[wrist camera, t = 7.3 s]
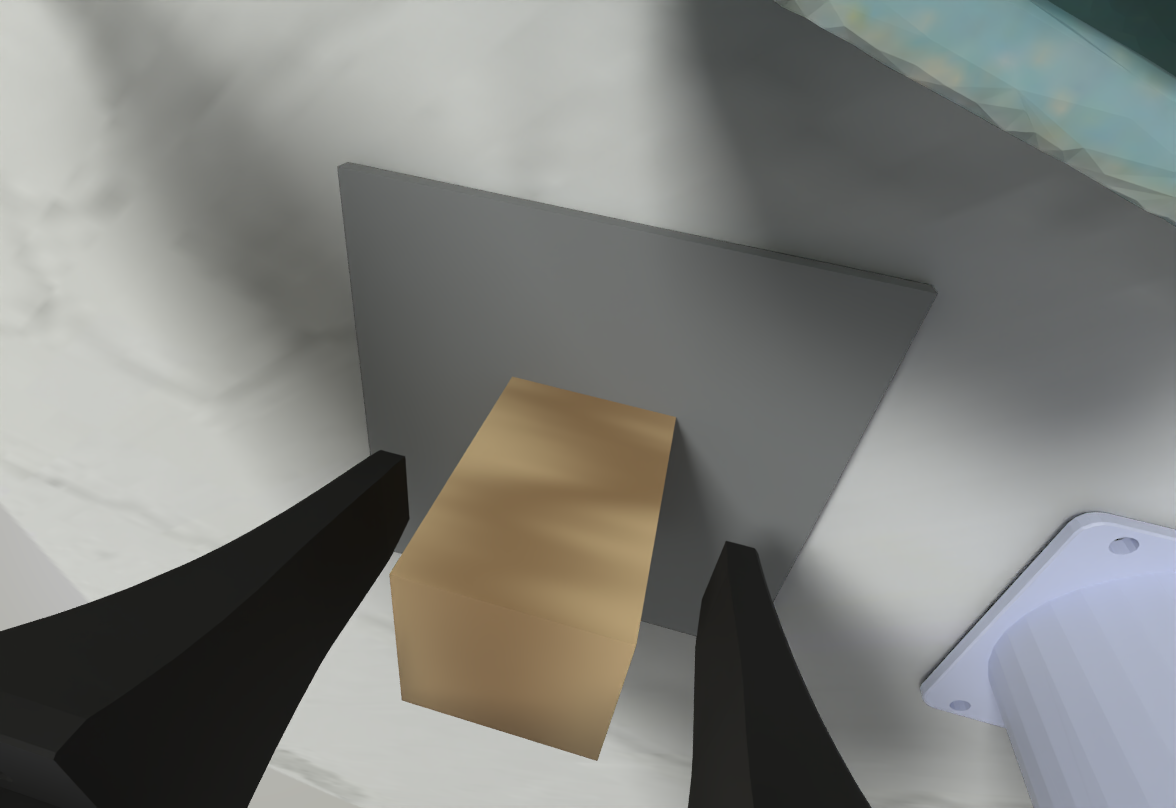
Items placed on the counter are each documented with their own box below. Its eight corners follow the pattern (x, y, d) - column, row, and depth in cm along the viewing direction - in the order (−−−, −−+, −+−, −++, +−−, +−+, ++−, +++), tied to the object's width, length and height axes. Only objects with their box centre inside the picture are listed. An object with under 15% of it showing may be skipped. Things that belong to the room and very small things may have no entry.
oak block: (676, 416, 14) (636, 645, 9) (642, 531, 16) (596, 761, 11) (512, 376, 14) (389, 574, 9) (503, 494, 16) (401, 699, 12)
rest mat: (932, 284, 11) (937, 293, 11) (747, 639, 18) (747, 650, 18) (347, 161, 12) (337, 166, 12) (386, 538, 19) (381, 547, 19)
